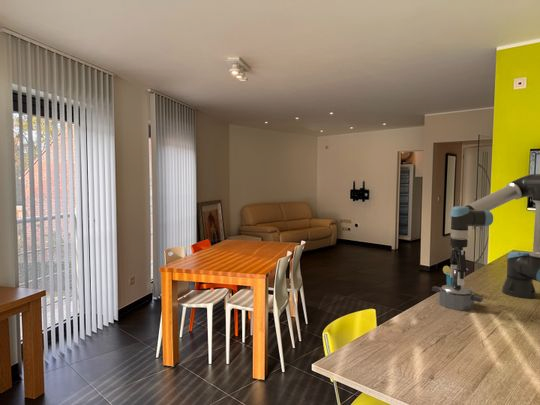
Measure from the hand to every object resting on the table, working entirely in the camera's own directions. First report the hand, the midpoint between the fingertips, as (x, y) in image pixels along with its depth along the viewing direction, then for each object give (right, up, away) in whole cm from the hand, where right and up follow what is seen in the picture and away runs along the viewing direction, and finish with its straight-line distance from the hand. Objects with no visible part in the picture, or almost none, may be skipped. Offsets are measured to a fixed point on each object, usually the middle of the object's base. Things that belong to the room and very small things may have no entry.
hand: (457, 281), depth 179 cm
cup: (+8, -11, +20) cm, 24 cm away
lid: (0, -5, 0) cm, 5 cm away
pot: (0, -12, +1) cm, 12 cm away
